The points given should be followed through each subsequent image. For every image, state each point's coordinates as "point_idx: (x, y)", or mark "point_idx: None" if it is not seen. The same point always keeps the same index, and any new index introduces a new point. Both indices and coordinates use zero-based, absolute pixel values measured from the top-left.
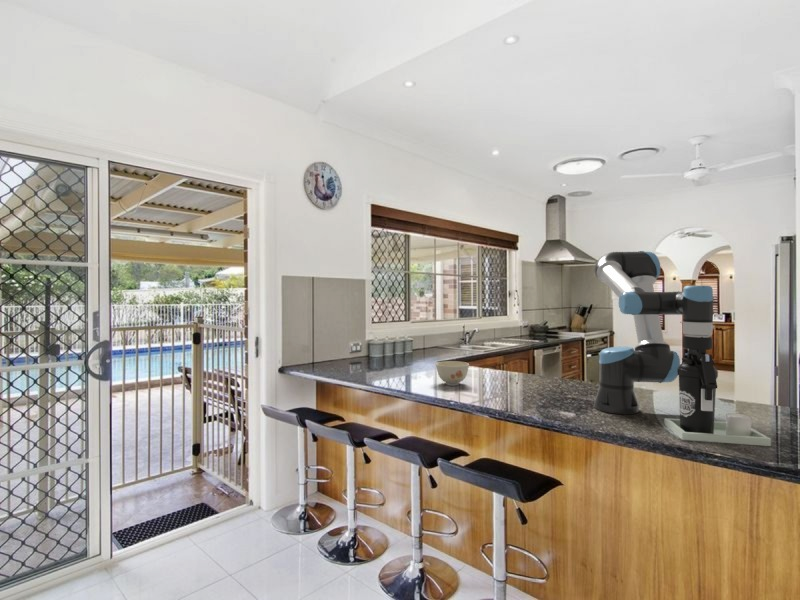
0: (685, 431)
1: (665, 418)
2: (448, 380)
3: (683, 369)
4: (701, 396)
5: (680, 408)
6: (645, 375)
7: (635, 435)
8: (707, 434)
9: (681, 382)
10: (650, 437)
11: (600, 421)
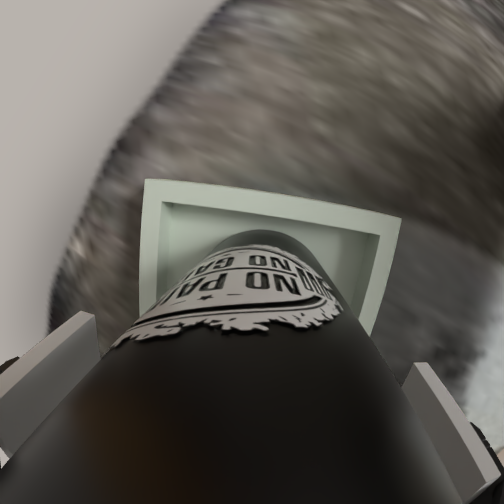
0: (236, 235)
1: (396, 221)
2: None
3: None
4: (26, 365)
5: (269, 255)
6: None
7: (248, 33)
8: (141, 284)
9: (171, 446)
10: (226, 77)
11: (413, 6)
